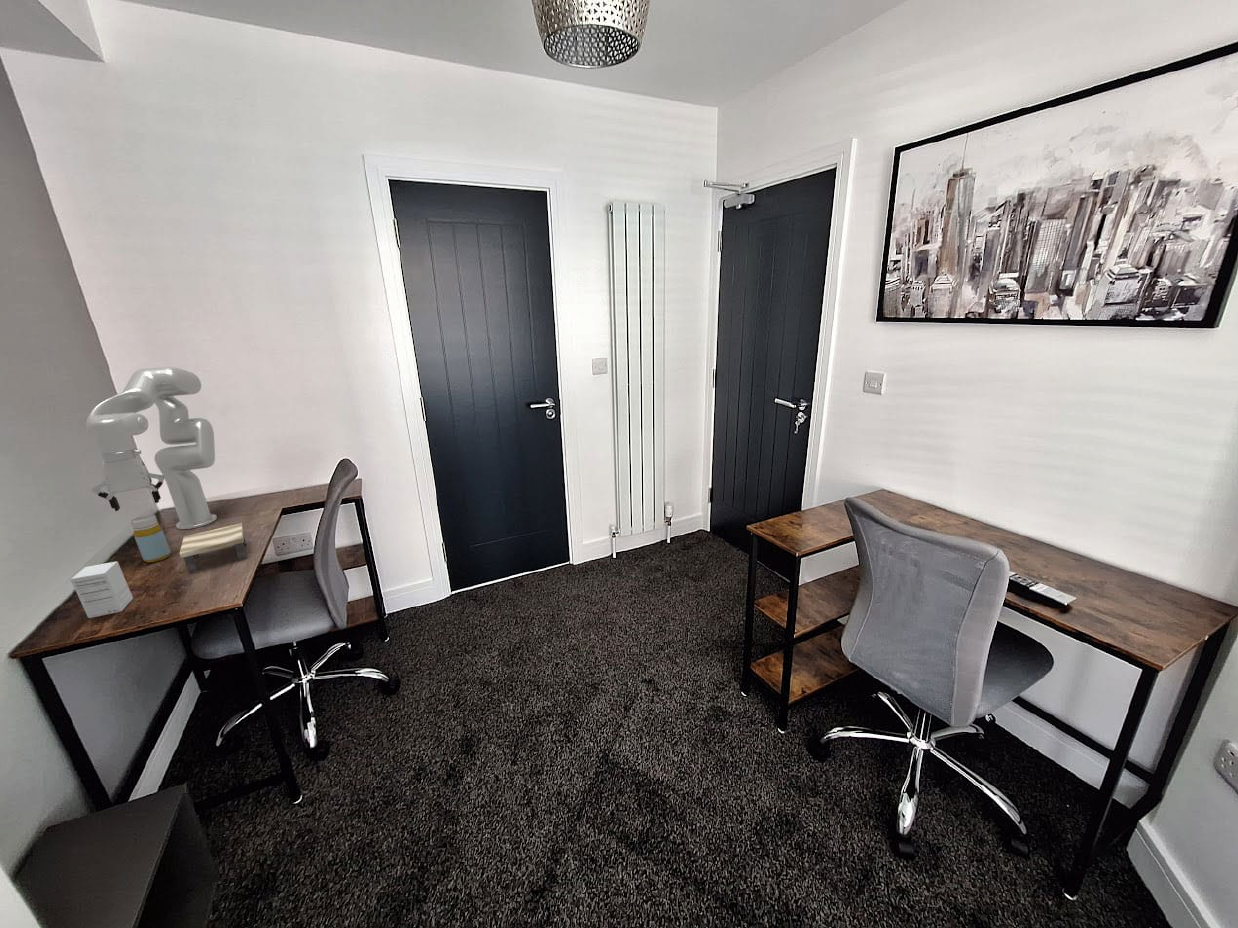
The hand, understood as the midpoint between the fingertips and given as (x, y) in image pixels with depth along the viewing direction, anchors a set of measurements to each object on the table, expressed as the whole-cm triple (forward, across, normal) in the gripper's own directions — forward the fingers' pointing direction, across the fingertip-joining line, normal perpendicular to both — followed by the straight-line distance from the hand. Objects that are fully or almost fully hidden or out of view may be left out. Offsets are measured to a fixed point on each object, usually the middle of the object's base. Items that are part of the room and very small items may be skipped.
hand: (137, 505), depth 160 cm
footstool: (+20, -17, +14) cm, 29 cm away
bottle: (+20, 0, 0) cm, 20 cm away
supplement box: (+20, +7, +32) cm, 38 cm away
